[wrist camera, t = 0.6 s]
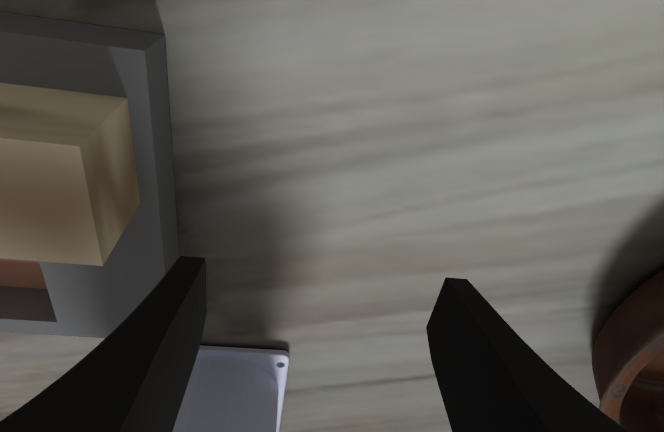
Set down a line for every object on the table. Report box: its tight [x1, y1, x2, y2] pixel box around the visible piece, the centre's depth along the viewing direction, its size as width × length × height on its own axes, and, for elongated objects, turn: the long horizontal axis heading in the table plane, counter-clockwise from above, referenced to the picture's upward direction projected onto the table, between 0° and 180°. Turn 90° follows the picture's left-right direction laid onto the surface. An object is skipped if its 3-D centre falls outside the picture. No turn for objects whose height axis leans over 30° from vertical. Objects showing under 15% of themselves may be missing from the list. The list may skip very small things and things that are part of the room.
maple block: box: [0, 83, 140, 266], centre depth 15 cm, size 4×4×4 cm
